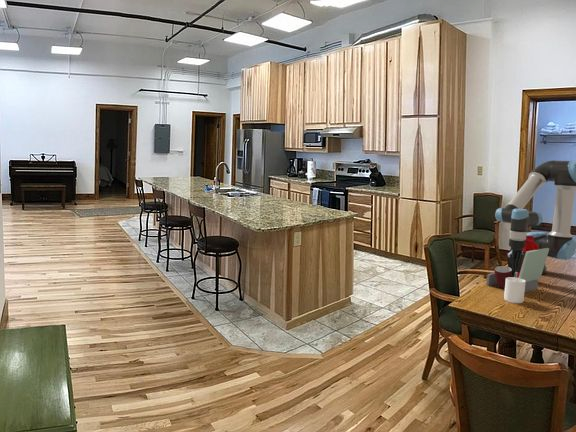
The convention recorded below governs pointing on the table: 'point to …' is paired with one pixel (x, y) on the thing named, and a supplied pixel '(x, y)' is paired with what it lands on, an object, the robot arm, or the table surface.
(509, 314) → the table surface
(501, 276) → the mug
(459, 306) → the table surface
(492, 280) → the grey long flat pieces
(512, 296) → the cup
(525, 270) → the lid
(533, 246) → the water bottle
